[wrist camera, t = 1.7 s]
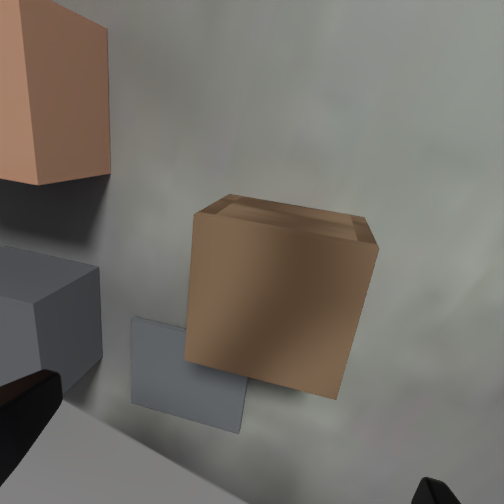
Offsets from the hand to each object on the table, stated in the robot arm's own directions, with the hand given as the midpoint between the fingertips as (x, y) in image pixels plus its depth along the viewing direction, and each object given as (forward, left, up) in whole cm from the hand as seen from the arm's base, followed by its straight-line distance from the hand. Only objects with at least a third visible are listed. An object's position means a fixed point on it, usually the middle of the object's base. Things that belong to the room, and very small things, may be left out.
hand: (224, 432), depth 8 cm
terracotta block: (-14, +7, -11) cm, 19 cm away
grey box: (-15, -6, -11) cm, 19 cm away
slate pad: (-5, -9, -11) cm, 15 cm away
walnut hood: (0, 0, -11) cm, 11 cm away
